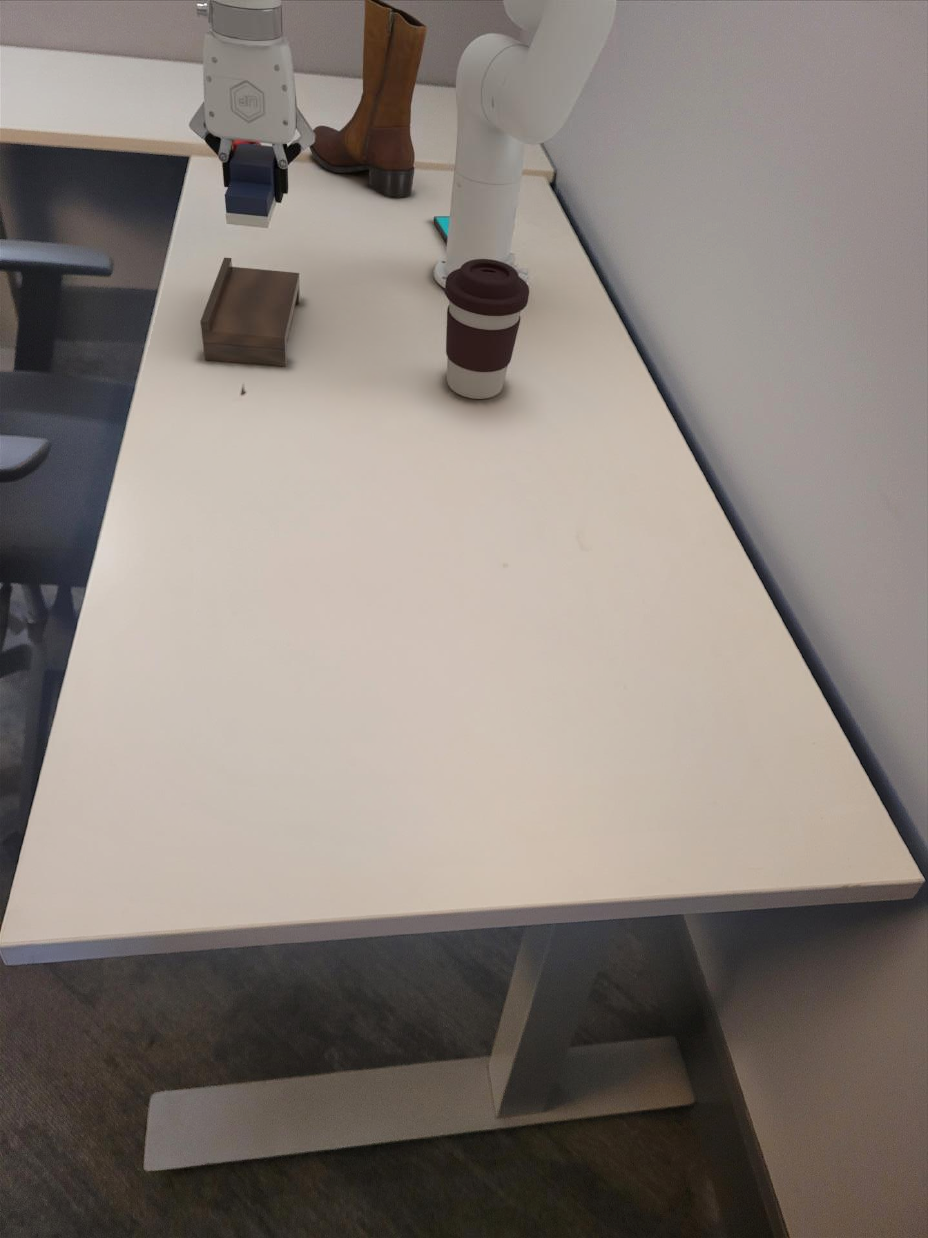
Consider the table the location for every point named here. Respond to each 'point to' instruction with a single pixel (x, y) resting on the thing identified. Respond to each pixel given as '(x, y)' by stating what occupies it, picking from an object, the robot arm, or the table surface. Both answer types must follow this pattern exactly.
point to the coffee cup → (482, 325)
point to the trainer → (251, 186)
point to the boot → (380, 105)
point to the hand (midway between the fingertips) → (256, 194)
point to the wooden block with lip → (249, 315)
